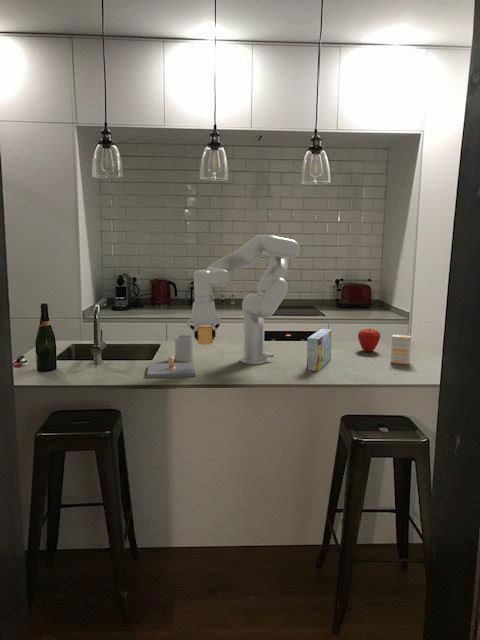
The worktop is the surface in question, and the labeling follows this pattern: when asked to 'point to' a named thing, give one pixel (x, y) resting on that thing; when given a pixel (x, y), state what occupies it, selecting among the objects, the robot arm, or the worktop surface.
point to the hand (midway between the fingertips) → (205, 338)
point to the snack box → (318, 349)
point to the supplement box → (400, 349)
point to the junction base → (171, 369)
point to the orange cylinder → (205, 335)
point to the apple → (368, 339)
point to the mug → (184, 348)
